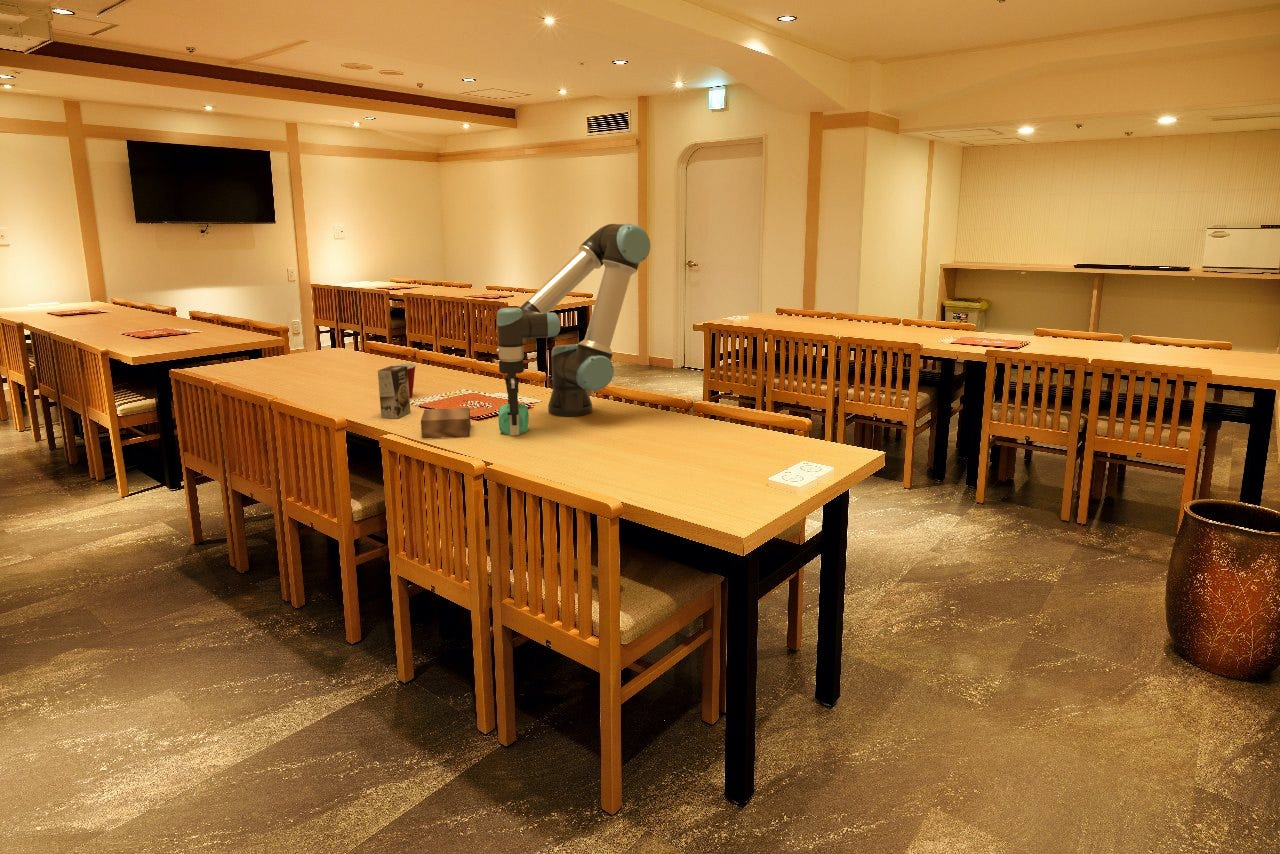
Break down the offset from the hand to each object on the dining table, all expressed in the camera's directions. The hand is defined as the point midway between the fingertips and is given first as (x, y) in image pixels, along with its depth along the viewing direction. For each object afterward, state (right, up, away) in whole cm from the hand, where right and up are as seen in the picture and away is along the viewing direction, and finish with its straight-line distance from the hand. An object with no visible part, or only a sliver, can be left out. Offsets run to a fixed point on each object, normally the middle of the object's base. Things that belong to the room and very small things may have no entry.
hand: (513, 430), depth 247 cm
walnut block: (-21, -1, 0) cm, 21 cm away
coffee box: (-43, +5, +20) cm, 47 cm away
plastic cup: (-48, +12, +45) cm, 67 cm away
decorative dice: (0, 0, 0) cm, 1 cm away
